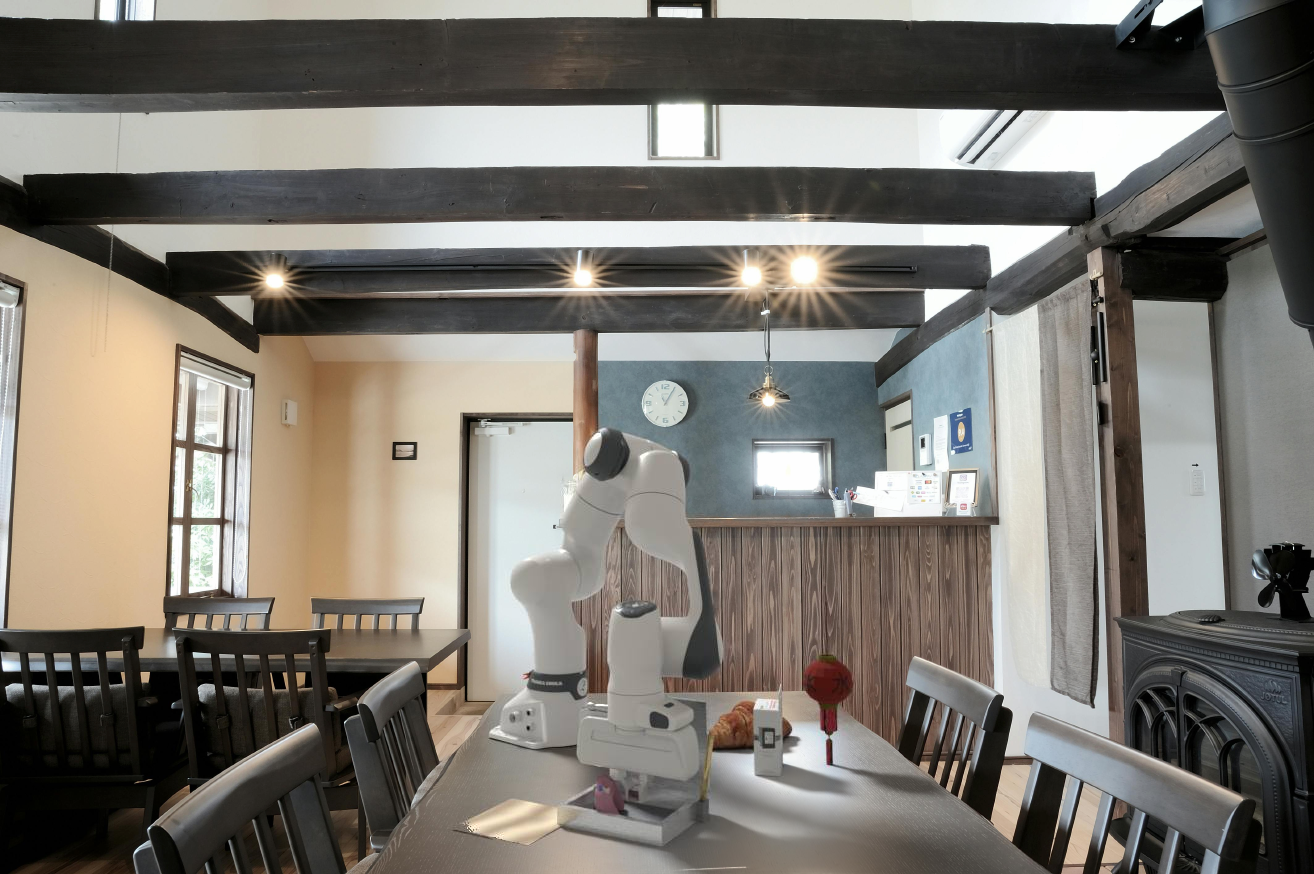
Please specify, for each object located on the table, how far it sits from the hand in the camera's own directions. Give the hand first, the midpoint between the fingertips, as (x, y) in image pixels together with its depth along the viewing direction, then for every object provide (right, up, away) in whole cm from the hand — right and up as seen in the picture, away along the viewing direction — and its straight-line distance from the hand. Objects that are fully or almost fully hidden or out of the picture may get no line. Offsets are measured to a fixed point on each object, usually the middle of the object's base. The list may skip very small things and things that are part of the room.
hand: (636, 800), depth 128 cm
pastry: (+22, -7, +44) cm, 49 cm away
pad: (-18, -4, -1) cm, 18 cm away
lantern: (+36, -6, +28) cm, 46 cm away
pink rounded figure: (-4, -4, 0) cm, 6 cm away
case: (0, -3, 0) cm, 3 cm away
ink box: (+24, -6, +25) cm, 35 cm away
